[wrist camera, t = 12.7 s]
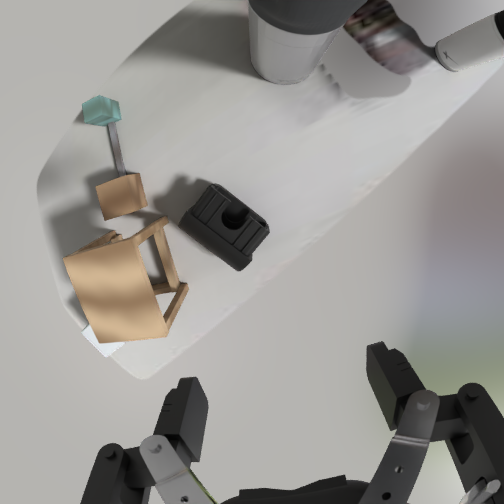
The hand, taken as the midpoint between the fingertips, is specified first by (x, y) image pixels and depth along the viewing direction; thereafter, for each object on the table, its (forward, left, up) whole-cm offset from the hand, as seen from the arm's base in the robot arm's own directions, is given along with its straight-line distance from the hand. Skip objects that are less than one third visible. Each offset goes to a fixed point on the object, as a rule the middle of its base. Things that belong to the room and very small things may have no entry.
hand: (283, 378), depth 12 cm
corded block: (-16, -18, -30) cm, 39 cm away
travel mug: (-24, +38, -30) cm, 54 cm away
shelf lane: (+1, -18, -30) cm, 35 cm away
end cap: (-2, -5, -30) cm, 31 cm away
